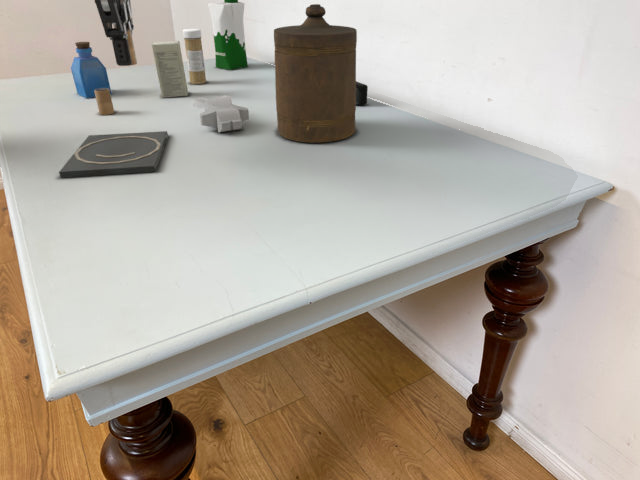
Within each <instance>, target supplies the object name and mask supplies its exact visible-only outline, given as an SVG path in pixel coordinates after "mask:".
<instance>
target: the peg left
mask: <svg viewBox="0 0 640 480" xmlns="http://www.w3.org/2000/svg"><path fill="white" fill-rule="evenodd" d="M94 92H95V96H96V97H95V99H96V105H97V109H98V113H99V115H101V116H107V115H108V116H110V115H113V114H115V109H114V104H113V99H112V96H111V95H112V94H110V90H109V89H108V88H98V89H96V90H94Z"/></svg>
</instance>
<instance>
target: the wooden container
mask: <svg viewBox="0 0 640 480" xmlns="http://www.w3.org/2000/svg"><path fill="white" fill-rule="evenodd" d="M304 12H305V16H306V19H304V21H303V23H301V24H299V25H297V24H296V25H288V26H287V25H286V26H280V27H277V28H274V29H273V43H274V77H275V78H274V80H275V85H274V86H275V107H276V121H277V132H278V134H279V135H280V136H281V137H283V138H284V139H288V140H290V141H293V142H299V143H309V144H320V143H321V144H322V143H323V144H324V143H332V142H336V141H342V140H345V139H347V138H350V137H352V135H354V134H355V132H356V109H357V107H356V106H357V105H356V81H357V43H358V31H357V29H356V28H354V27H351V26H344V25H336V24H335V25H333V24H329V23H328V22H327V21H326V20H325V17H324V16H325V15H326V8H325V7H323V6H321V4H319V3H316V4H315V3H314V4H313V3H312V4H310V5H309V6H307V7H306V8H305V11H304Z"/></svg>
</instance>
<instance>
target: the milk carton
mask: <svg viewBox="0 0 640 480" xmlns="http://www.w3.org/2000/svg"><path fill="white" fill-rule="evenodd" d="M207 6H208V10H209V14H210V19H211V25H212V32H213V33H212V34H213V43H214V52H215V53H214V54H215V68H218V69H223V70H230V71H234V70H239V69H243V68H248V66H249V64H248V57H247V49H246V40H245V39H246V38H245V25H244V13H245V2H240V1H239V0H223V1H220V2H219V1H215V2H211V3H207Z"/></svg>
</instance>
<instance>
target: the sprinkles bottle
mask: <svg viewBox="0 0 640 480" xmlns="http://www.w3.org/2000/svg"><path fill="white" fill-rule="evenodd" d="M182 37H183V40H184V46H185V47H184V48H185V54H186V55H185V56H186V64H187V71H188V75H189V83H190V84H191V85H203V84H206V83H207V78H206V65H205V58H204V50H203V45H202V31H201V29H200V28H185V29H182Z"/></svg>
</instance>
